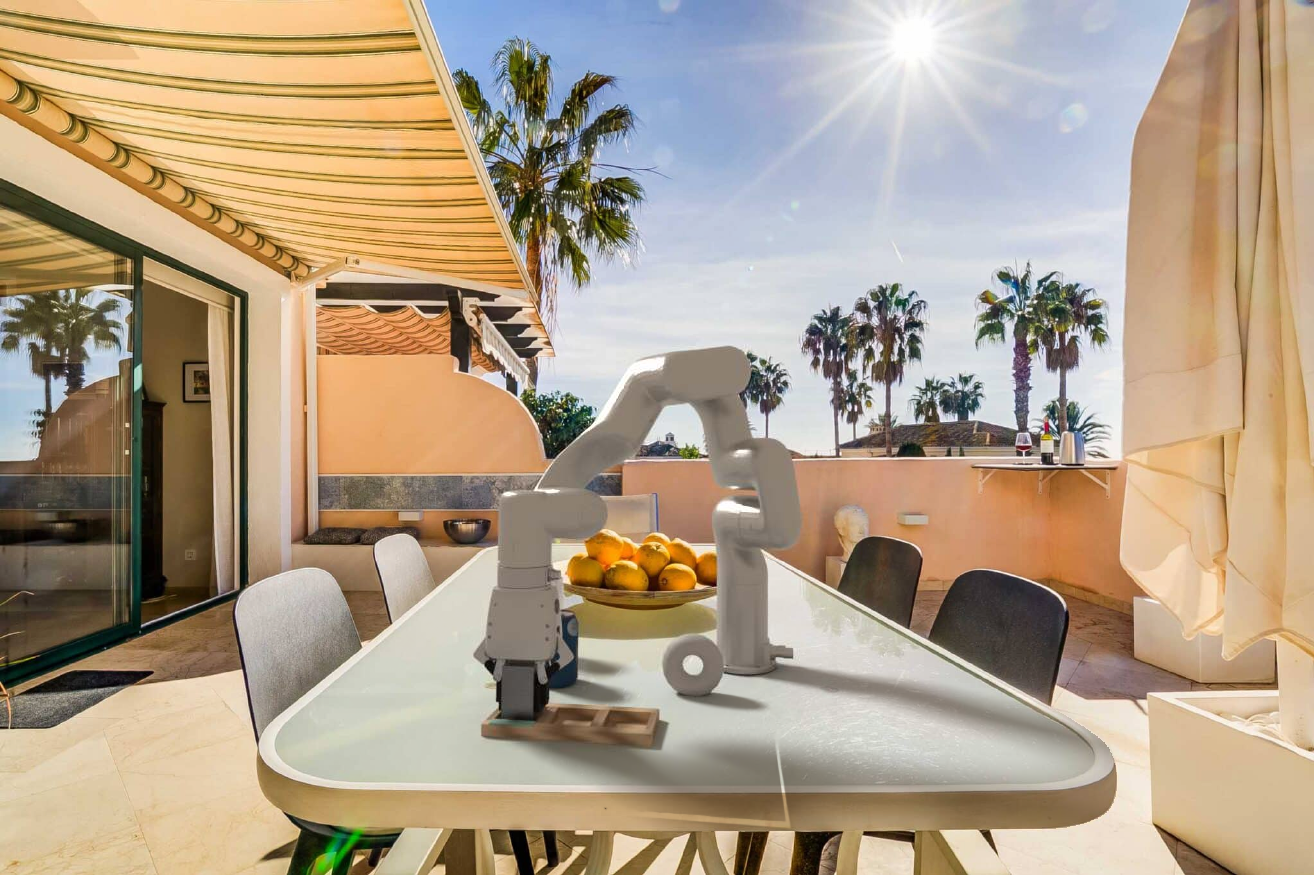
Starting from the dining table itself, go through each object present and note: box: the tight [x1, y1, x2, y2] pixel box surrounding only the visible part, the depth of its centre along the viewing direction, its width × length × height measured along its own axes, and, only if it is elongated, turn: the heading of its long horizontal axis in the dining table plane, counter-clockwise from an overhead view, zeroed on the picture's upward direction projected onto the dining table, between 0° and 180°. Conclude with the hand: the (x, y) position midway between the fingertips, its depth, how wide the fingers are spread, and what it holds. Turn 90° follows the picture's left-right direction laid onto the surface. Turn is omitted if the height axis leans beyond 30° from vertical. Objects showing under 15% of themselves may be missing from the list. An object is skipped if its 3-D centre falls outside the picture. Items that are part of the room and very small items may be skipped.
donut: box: [661, 632, 724, 697], centre depth 103 cm, size 10×4×10 cm, turn 82°
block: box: [501, 661, 543, 723], centre depth 90 cm, size 4×4×8 cm
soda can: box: [549, 608, 580, 689], centre depth 108 cm, size 7×7×12 cm
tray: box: [480, 702, 661, 748], centre depth 89 cm, size 23×9×2 cm, turn 83°
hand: (522, 706), depth 90 cm, fingers closed on block, 4 cm apart
